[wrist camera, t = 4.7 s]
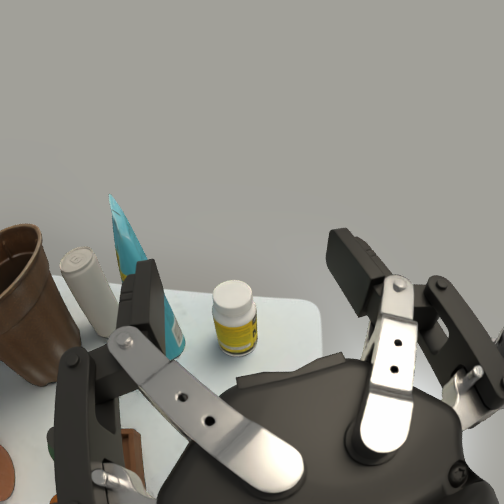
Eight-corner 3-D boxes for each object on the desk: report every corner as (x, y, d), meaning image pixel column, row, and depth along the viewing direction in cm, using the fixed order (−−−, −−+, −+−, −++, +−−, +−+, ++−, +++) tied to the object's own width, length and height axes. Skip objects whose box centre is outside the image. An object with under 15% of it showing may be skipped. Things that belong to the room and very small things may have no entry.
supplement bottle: (261, 353, 32) (260, 306, 27) (221, 361, 32) (211, 315, 27) (252, 322, 36) (250, 273, 31) (216, 329, 35) (206, 281, 30)
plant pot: (68, 417, 24) (-20, 334, 14) (-4, 381, 26) (-71, 304, 16) (111, 317, 37) (65, 220, 27) (38, 304, 38) (-6, 225, 28)
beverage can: (111, 345, 33) (71, 277, 26) (90, 330, 35) (51, 265, 27) (133, 320, 37) (101, 251, 29) (110, 308, 38) (79, 242, 31)
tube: (140, 333, 35) (84, 202, 23) (171, 318, 37) (131, 184, 25) (162, 376, 30) (94, 239, 18) (197, 358, 32) (155, 214, 20)
